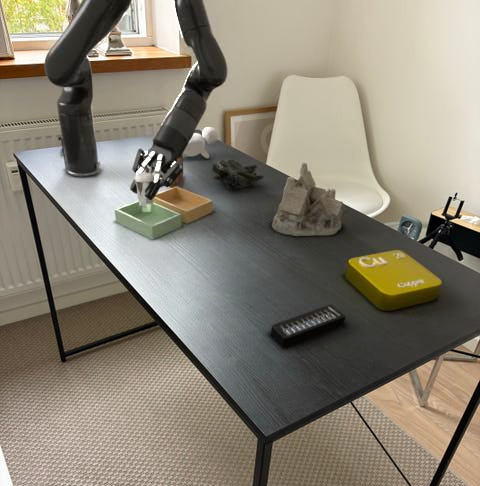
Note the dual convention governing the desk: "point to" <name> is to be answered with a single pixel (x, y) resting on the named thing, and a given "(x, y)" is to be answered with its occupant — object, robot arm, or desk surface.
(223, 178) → the mineral specimen
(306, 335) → the multiport hub
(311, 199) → the ceramic cottage
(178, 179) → the tin
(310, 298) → the desk surface
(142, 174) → the milkshake
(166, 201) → the bin right
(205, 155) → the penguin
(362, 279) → the element tile
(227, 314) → the desk surface
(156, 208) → the bin left
